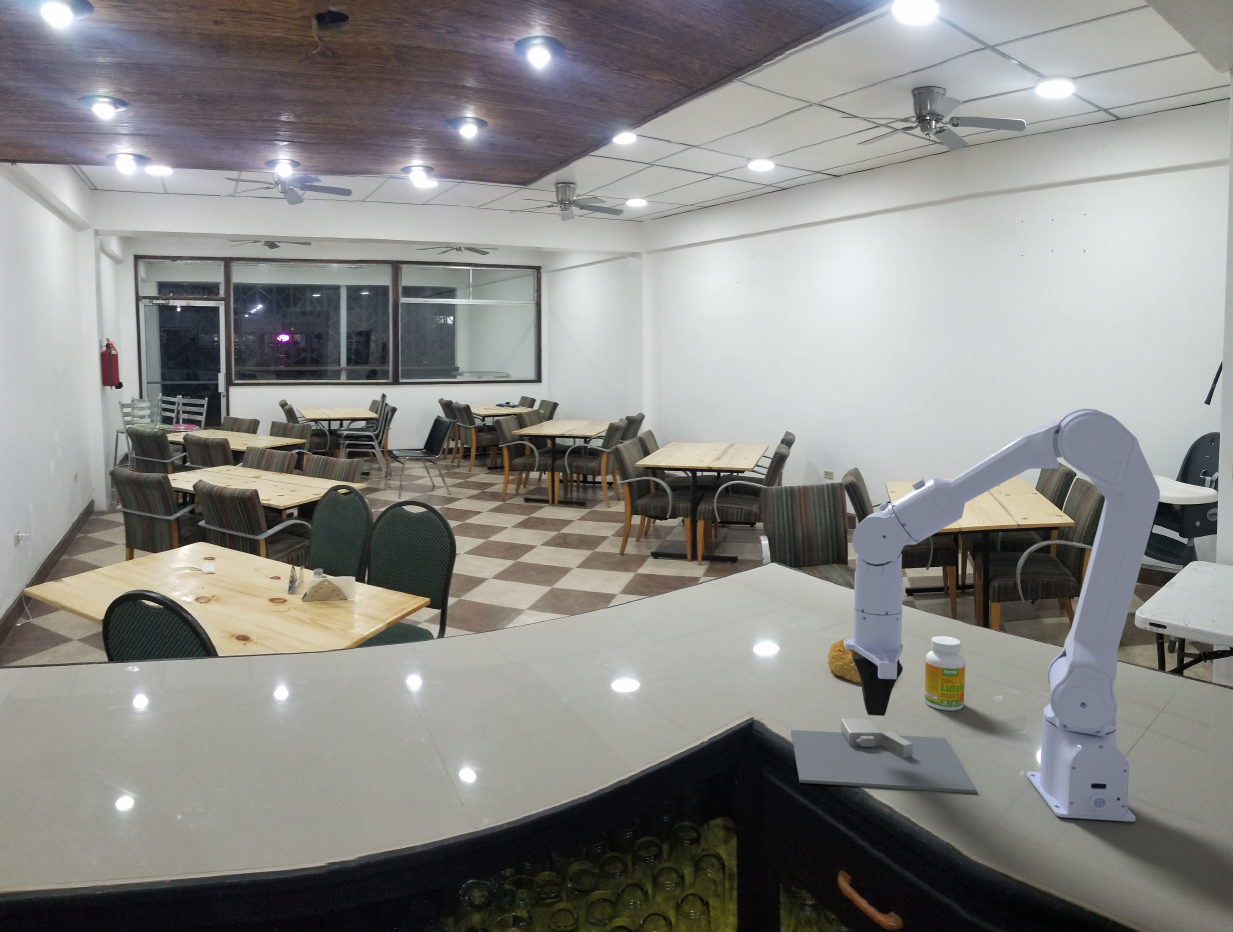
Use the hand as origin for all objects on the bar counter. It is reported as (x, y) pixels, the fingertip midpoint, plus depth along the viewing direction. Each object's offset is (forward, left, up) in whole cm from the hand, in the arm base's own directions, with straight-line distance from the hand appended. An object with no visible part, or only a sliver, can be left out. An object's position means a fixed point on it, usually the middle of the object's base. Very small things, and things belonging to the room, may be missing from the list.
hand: (875, 713), depth 99 cm
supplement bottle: (+18, -13, -6) cm, 23 cm away
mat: (-1, 0, -6) cm, 6 cm away
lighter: (+7, 0, -4) cm, 8 cm away
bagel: (+30, -3, -6) cm, 30 cm away
